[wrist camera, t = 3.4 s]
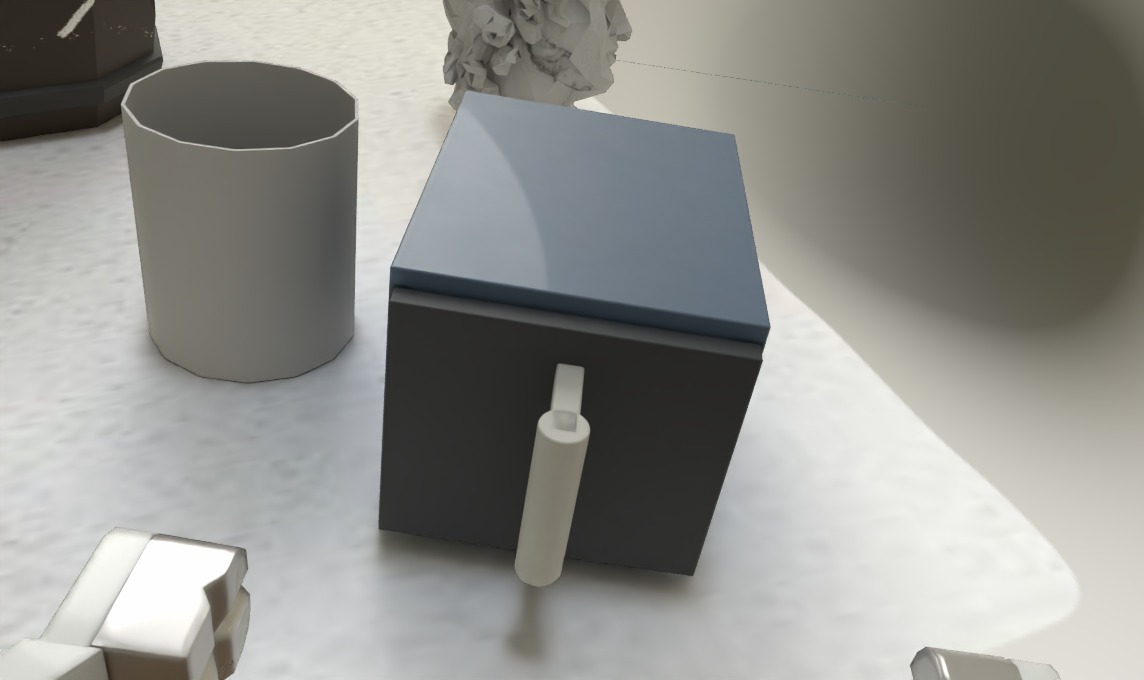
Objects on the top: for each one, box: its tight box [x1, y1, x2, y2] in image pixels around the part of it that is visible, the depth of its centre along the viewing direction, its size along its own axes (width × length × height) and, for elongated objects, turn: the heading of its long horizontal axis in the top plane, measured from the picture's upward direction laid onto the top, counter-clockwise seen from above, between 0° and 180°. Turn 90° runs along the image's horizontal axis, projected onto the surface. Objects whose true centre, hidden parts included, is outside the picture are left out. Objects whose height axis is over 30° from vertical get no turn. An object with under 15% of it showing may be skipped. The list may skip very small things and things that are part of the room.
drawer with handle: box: [379, 287, 763, 587], centre depth 34 cm, size 17×11×9 cm, turn 176°
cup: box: [121, 60, 358, 383], centre depth 39 cm, size 8×8×10 cm
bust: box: [443, 0, 632, 111], centre depth 57 cm, size 11×10×15 cm
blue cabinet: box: [379, 91, 770, 507], centre depth 36 cm, size 14×11×10 cm
